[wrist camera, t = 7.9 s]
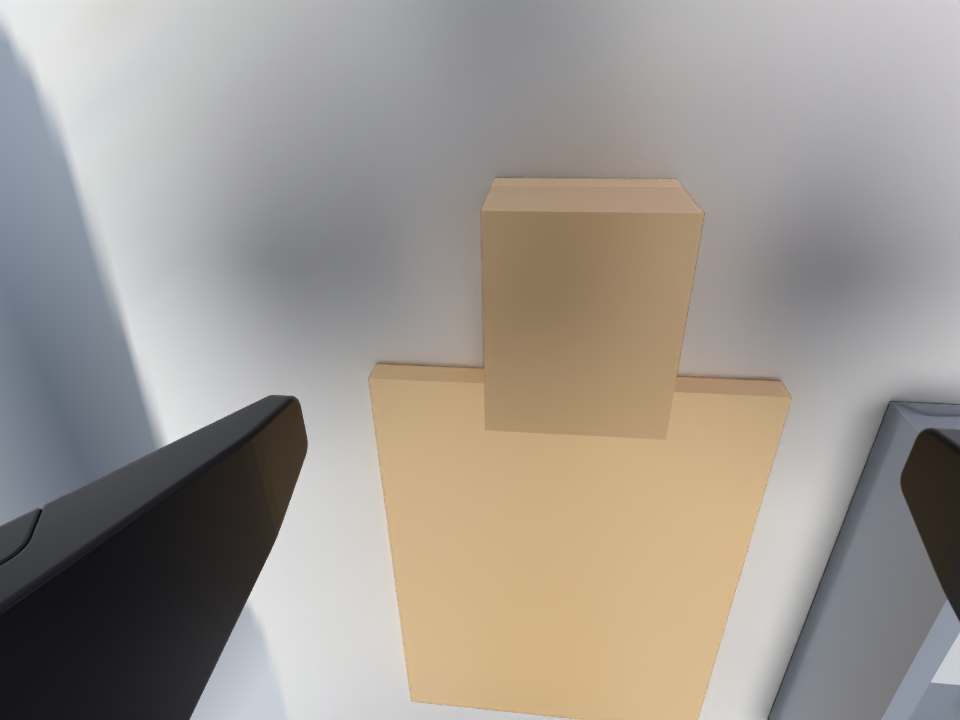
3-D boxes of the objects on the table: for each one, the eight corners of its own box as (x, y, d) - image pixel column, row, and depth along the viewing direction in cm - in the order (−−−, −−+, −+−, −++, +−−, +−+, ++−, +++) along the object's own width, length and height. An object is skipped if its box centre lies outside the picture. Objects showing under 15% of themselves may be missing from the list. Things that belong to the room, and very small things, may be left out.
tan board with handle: (690, 709, 22) (706, 793, 20) (415, 681, 23) (398, 757, 21) (836, 180, 12) (904, 215, 10) (353, 177, 14) (308, 208, 11)
